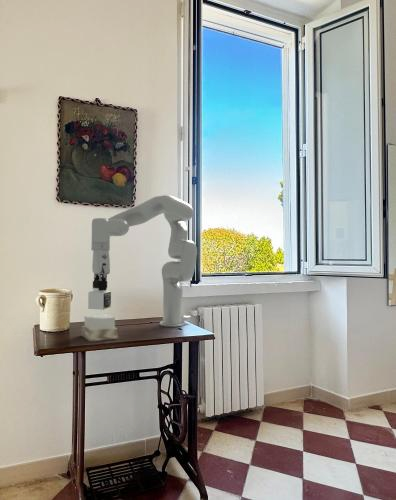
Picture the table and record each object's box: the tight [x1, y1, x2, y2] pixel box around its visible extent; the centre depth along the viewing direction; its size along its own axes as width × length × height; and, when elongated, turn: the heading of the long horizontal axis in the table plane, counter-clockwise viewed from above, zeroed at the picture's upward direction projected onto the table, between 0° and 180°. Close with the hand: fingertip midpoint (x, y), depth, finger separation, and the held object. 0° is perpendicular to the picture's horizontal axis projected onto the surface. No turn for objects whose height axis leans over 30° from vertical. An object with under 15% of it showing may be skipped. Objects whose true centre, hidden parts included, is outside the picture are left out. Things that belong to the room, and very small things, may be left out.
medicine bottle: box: [87, 279, 112, 311], centre depth 164 cm, size 7×7×12 cm
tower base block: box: [81, 325, 119, 342], centre depth 164 cm, size 12×12×4 cm
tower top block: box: [84, 313, 116, 331], centre depth 164 cm, size 10×10×4 cm
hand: (100, 289), depth 164 cm, fingers closed on medicine bottle, 6 cm apart
